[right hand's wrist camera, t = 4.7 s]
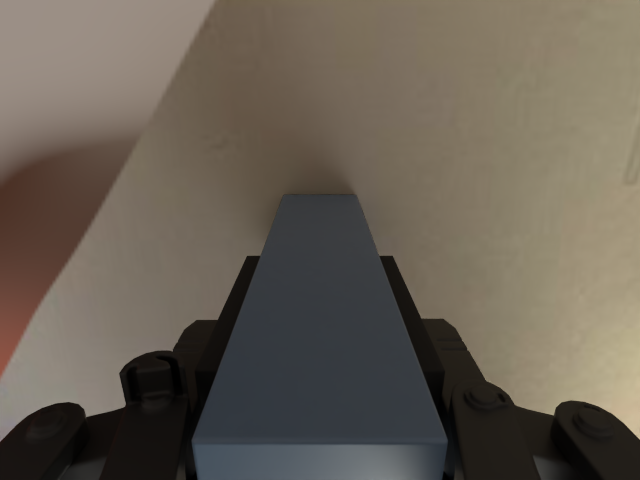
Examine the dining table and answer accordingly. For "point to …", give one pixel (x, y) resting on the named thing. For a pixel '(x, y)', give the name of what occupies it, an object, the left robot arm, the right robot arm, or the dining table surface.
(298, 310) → the peg
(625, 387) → the dining table surface
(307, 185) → the dining table surface
